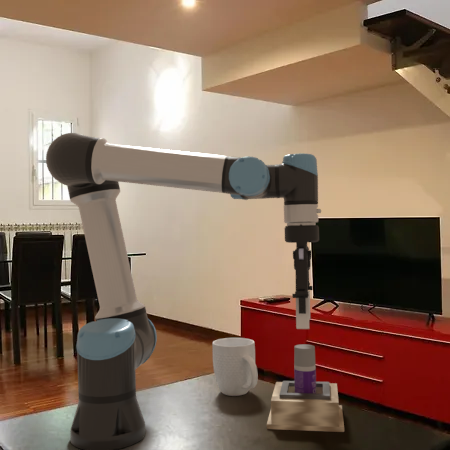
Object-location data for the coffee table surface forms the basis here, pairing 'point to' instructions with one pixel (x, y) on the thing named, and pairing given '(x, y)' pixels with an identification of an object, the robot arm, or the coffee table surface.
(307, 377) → the container
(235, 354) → the mug
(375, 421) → the coffee table surface
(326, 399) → the socket
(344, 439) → the coffee table surface
